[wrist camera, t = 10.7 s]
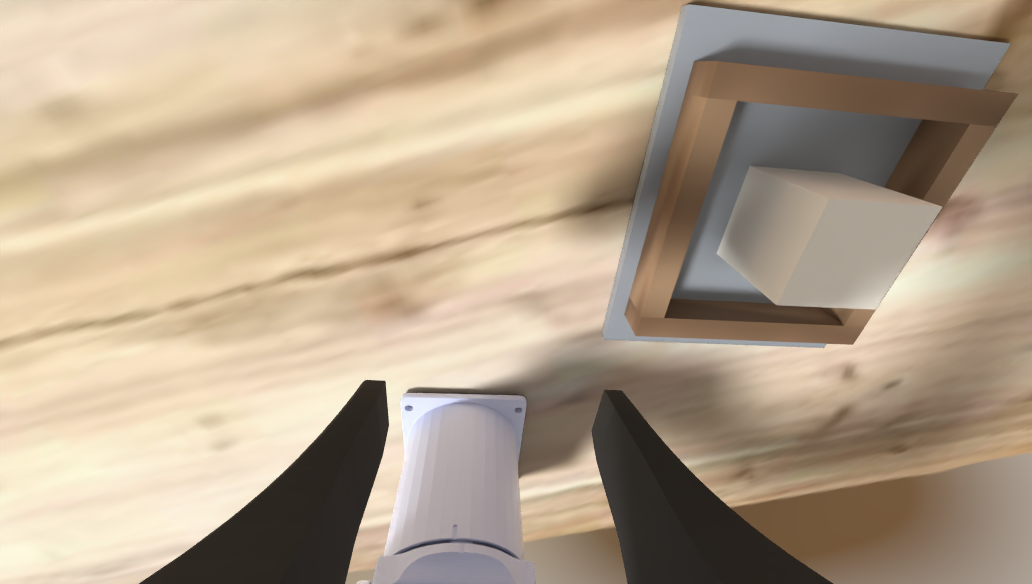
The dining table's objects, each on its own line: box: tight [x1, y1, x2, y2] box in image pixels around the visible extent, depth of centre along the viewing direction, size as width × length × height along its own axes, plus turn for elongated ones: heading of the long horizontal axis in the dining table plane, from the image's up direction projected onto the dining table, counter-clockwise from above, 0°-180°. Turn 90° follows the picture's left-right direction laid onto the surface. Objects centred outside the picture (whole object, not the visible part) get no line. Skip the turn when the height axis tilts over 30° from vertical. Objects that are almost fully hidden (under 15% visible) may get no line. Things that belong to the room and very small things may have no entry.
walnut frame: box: [624, 61, 1018, 345], centre depth 19 cm, size 12×12×2 cm
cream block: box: [717, 166, 942, 310], centre depth 17 cm, size 4×4×5 cm
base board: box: [602, 4, 1010, 348], centre depth 20 cm, size 16×14×1 cm
